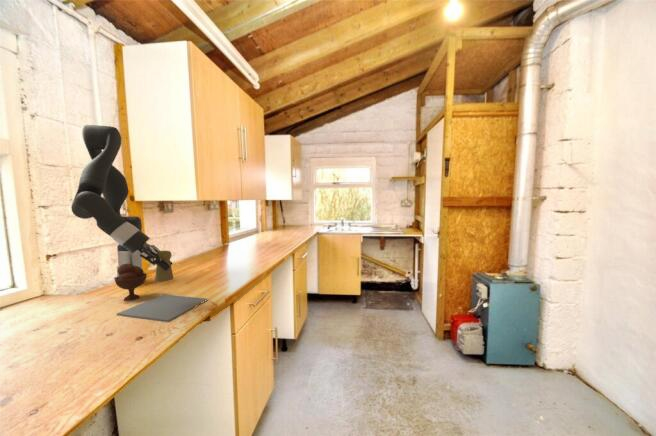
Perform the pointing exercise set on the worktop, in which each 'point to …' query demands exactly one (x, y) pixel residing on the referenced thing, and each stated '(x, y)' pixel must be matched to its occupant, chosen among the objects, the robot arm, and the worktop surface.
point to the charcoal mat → (162, 307)
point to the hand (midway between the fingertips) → (169, 266)
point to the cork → (160, 272)
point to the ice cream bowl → (130, 279)
